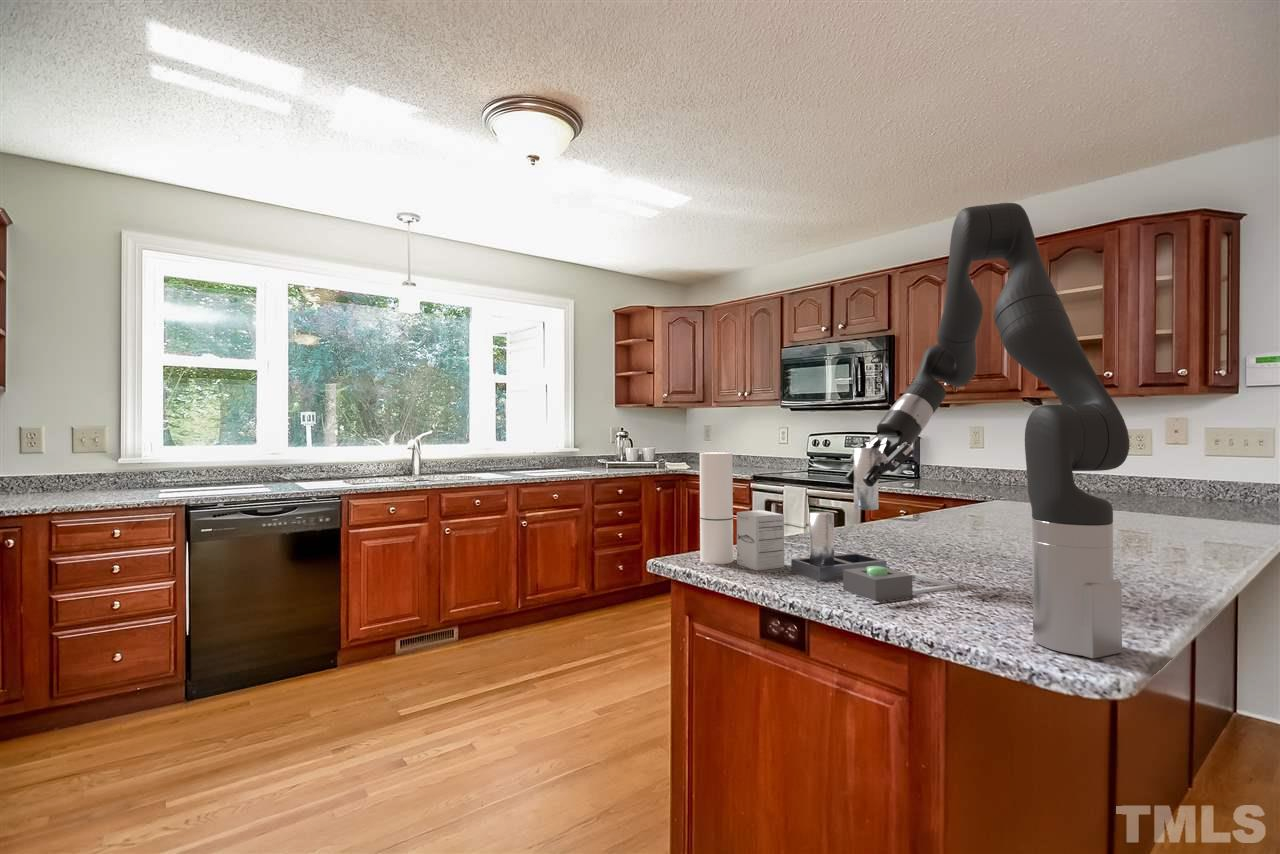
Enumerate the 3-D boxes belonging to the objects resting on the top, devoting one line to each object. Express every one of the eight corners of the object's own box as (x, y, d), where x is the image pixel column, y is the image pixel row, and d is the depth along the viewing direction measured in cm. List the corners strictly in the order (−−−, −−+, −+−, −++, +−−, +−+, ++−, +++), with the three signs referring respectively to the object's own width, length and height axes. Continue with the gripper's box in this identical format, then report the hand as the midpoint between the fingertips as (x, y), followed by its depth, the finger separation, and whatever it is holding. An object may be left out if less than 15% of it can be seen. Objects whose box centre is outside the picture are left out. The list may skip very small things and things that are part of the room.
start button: (891, 586, 108) (891, 569, 108) (876, 588, 107) (876, 570, 107) (877, 582, 111) (877, 565, 111) (862, 584, 110) (862, 567, 110)
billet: (883, 509, 123) (883, 448, 123) (864, 510, 122) (864, 449, 122) (867, 506, 128) (866, 447, 128) (849, 507, 126) (848, 448, 126)
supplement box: (735, 570, 134) (735, 511, 134) (764, 567, 137) (763, 509, 137) (756, 578, 127) (755, 515, 127) (785, 574, 130) (785, 513, 130)
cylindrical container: (732, 563, 140) (731, 452, 140) (734, 571, 133) (733, 453, 133) (700, 563, 141) (699, 452, 141) (700, 570, 134) (699, 453, 134)
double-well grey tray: (886, 581, 123) (886, 561, 123) (820, 589, 117) (819, 568, 117) (855, 571, 132) (855, 552, 132) (791, 578, 126) (791, 559, 126)
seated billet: (839, 575, 122) (838, 514, 122) (819, 578, 120) (819, 515, 120) (824, 570, 126) (823, 511, 126) (805, 573, 124) (804, 512, 124)
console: (912, 604, 107) (912, 575, 107) (875, 609, 104) (875, 579, 104) (878, 593, 114) (878, 566, 114) (843, 598, 111) (843, 569, 111)
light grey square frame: (957, 596, 112) (957, 585, 112) (914, 602, 108) (914, 590, 108) (914, 583, 121) (914, 573, 121) (873, 588, 118) (873, 578, 118)
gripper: (870, 408, 134) (823, 467, 130) (922, 407, 120) (872, 472, 116) (889, 433, 136) (844, 491, 132) (943, 434, 122) (895, 499, 118)
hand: (858, 482), depth 124 cm, fingers closed on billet, 4 cm apart
